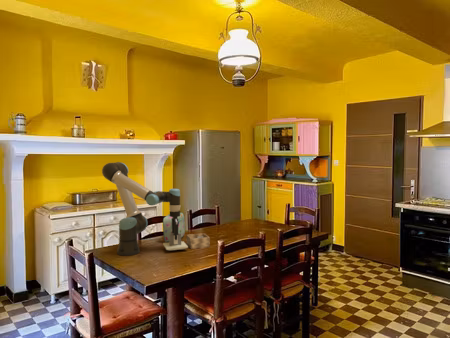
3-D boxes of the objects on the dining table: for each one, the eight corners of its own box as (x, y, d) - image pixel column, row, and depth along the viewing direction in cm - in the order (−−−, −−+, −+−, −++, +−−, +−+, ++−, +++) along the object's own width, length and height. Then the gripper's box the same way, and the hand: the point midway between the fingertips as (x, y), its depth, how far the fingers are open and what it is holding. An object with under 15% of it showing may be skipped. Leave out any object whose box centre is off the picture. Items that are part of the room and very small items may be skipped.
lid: (166, 251, 240) (166, 237, 239) (163, 245, 254) (162, 232, 253) (188, 249, 245) (187, 235, 244) (183, 243, 259) (183, 230, 258)
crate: (191, 248, 251) (191, 239, 251) (186, 243, 264) (186, 234, 264) (209, 247, 256) (209, 237, 255) (204, 242, 269) (204, 233, 269)
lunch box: (175, 244, 263) (174, 216, 262) (162, 243, 265) (161, 215, 264) (186, 235, 289) (185, 210, 288) (174, 235, 292) (174, 209, 290)
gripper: (182, 212, 242) (182, 245, 243) (177, 208, 257) (178, 240, 258) (171, 212, 239) (172, 246, 240) (167, 209, 254) (167, 241, 255)
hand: (175, 243), depth 249 cm, fingers closed on lid, 3 cm apart
